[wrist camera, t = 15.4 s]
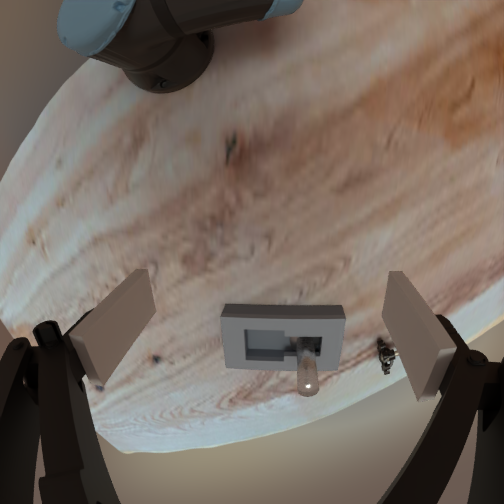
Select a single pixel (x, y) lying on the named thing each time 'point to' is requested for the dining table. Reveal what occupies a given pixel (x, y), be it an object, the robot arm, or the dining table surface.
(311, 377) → the flanged metal peg
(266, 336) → the keyhole board
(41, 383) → the robot arm
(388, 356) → the valve
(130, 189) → the dining table surface
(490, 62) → the dining table surface
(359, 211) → the dining table surface
